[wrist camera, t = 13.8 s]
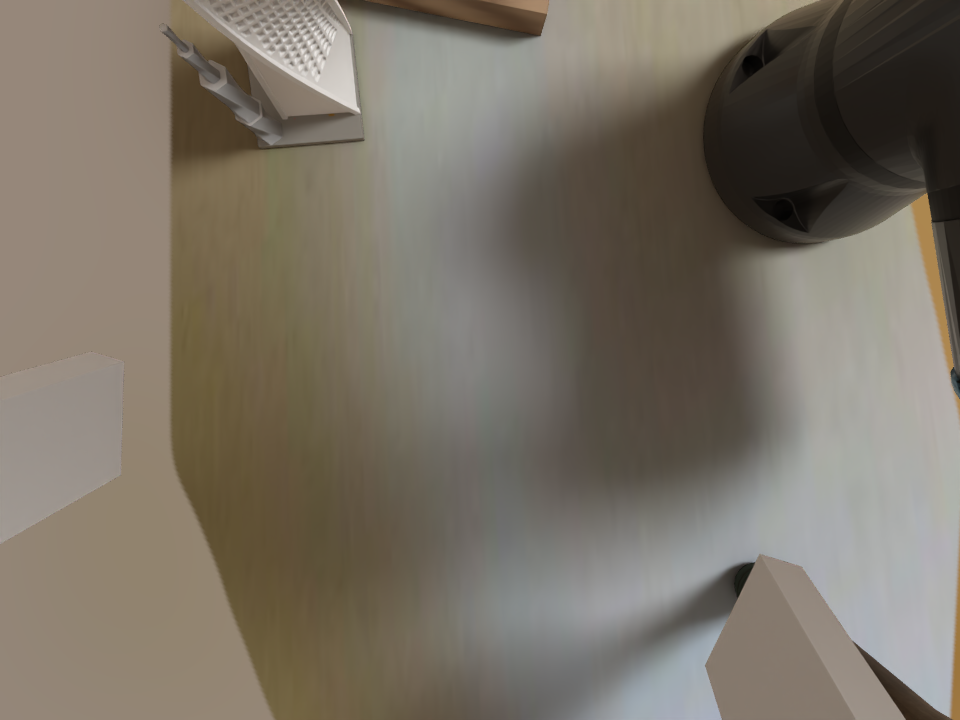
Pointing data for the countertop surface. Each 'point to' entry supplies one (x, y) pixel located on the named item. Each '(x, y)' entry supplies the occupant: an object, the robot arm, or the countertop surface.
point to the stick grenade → (877, 675)
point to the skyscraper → (284, 69)
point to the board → (484, 11)
